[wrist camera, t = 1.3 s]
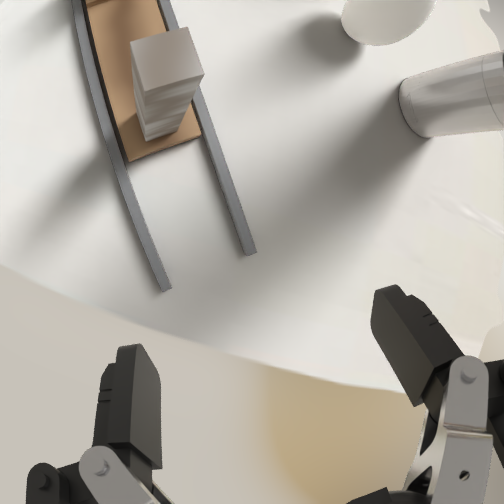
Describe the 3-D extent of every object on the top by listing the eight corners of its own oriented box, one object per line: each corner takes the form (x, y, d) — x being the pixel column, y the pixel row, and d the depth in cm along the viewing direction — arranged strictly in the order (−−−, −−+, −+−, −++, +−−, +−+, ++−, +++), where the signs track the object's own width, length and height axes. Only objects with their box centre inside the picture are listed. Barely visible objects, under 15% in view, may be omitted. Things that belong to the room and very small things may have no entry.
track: (149, -50, 22) (150, -55, 21) (253, 250, 33) (256, 252, 32) (68, -27, 20) (67, -31, 19) (161, 289, 30) (162, 292, 29)
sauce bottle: (322, 39, 31) (426, -29, 14) (330, -2, 30) (420, -68, 13) (373, 66, 34) (482, 23, 17) (377, 25, 33) (472, -22, 16)
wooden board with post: (139, -41, 22) (152, -134, 8) (198, 137, 29) (248, 82, 14) (81, -24, 21) (67, -115, 6) (129, 162, 27) (110, 124, 13)
